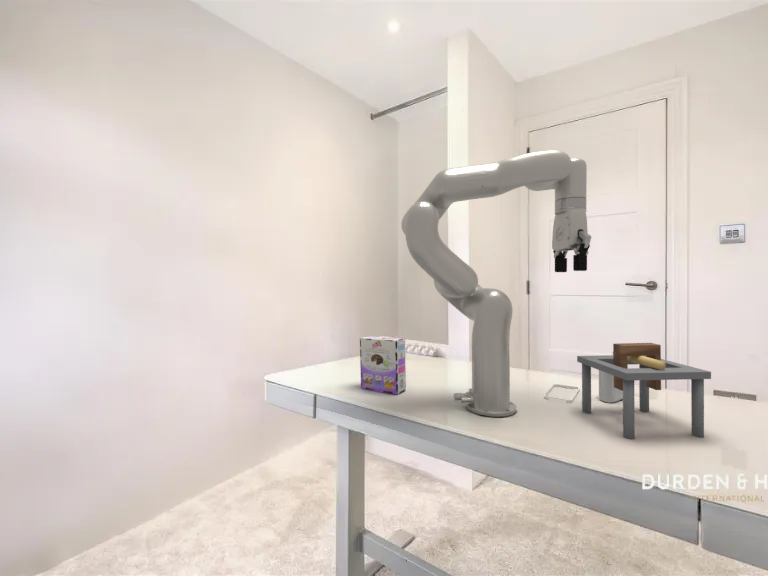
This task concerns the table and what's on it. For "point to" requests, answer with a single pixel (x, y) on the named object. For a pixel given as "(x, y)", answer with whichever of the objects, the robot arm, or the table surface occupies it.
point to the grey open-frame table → (656, 372)
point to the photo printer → (608, 388)
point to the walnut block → (635, 350)
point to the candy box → (383, 364)
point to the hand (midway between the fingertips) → (569, 271)
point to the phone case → (562, 387)
